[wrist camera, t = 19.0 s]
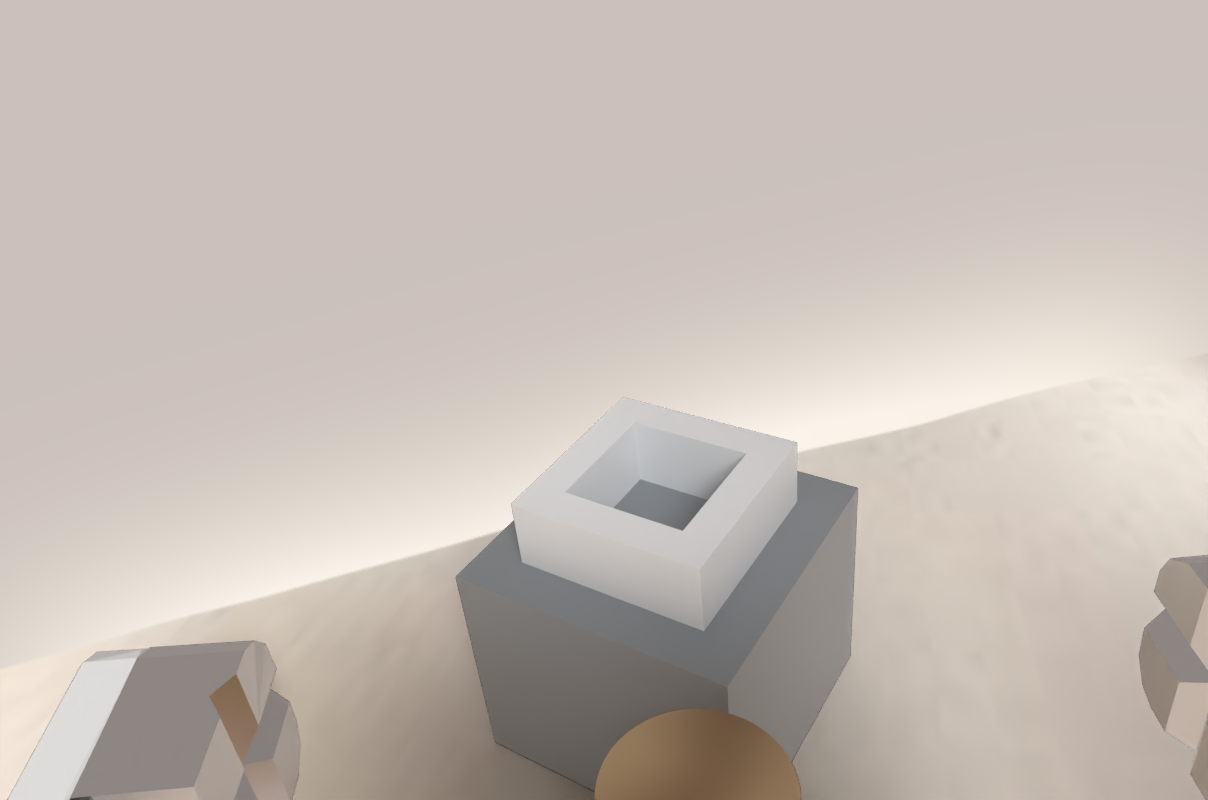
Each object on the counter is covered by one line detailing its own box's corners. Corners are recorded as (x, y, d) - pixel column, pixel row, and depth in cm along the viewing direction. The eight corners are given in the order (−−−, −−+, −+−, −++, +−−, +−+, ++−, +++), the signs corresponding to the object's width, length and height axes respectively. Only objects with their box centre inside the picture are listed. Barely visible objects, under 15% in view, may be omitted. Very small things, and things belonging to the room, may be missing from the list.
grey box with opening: (850, 655, 48) (861, 428, 41) (736, 862, 40) (724, 623, 33) (633, 576, 54) (609, 367, 47) (494, 742, 46) (441, 518, 39)
